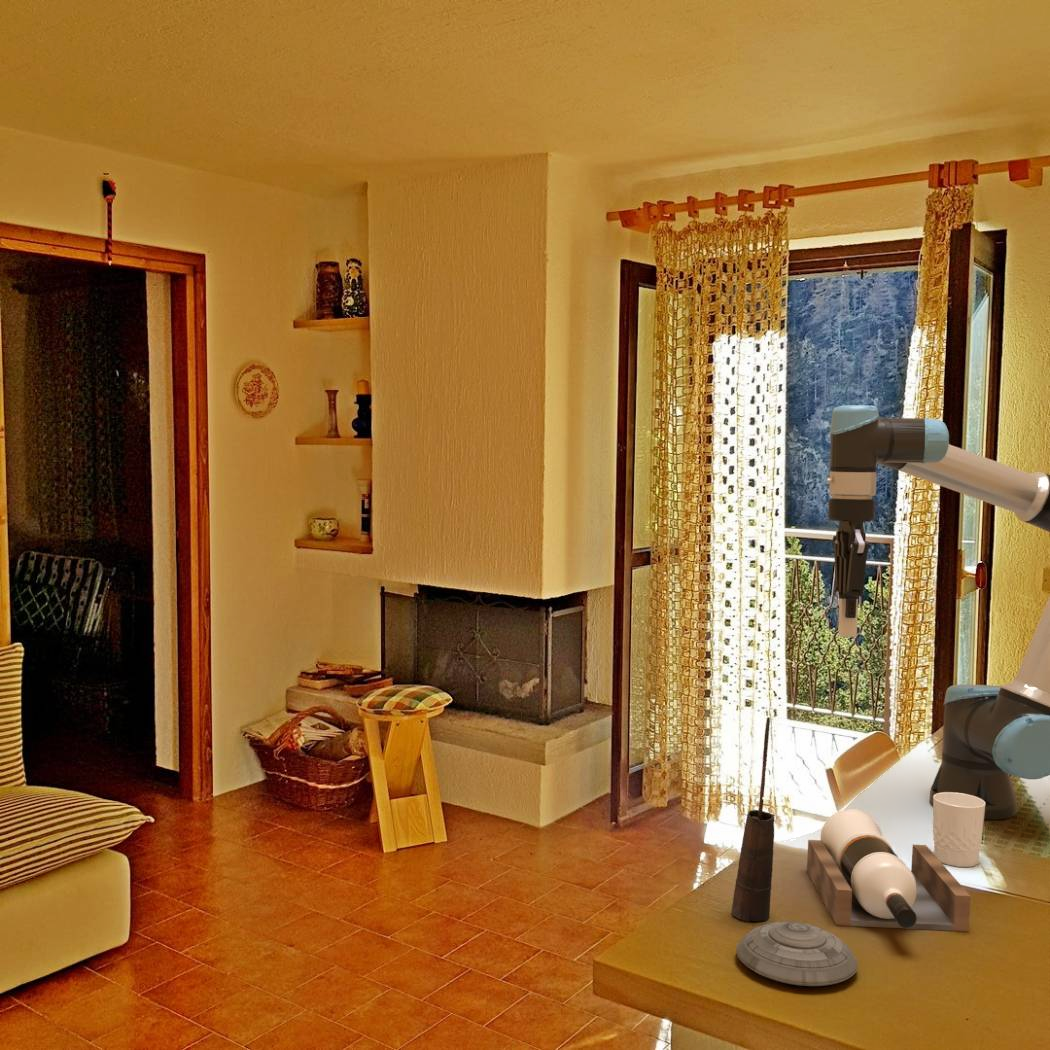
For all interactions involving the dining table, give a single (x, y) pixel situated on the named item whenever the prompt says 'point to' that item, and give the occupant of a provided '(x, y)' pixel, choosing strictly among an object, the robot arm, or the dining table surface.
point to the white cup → (957, 828)
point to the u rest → (934, 905)
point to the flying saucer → (797, 954)
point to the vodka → (870, 866)
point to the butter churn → (756, 859)
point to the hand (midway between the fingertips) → (847, 636)
